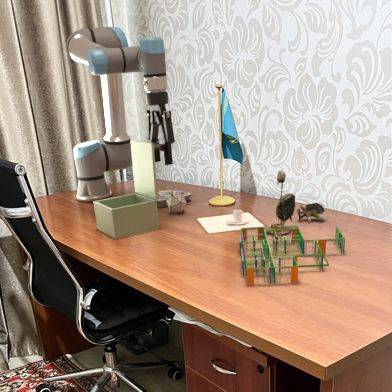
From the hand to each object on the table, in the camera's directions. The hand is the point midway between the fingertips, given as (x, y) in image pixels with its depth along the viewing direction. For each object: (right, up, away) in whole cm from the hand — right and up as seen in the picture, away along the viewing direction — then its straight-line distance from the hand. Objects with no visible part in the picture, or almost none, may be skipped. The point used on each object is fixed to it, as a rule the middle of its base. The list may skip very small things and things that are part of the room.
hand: (162, 163), depth 182 cm
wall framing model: (+39, -40, -35) cm, 66 cm away
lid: (-7, -3, -3) cm, 8 cm away
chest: (-13, -23, +3) cm, 26 cm away
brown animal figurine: (+52, -21, -3) cm, 56 cm away
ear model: (+24, -21, +2) cm, 32 cm away
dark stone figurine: (+40, -27, -11) cm, 49 cm away
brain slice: (-1, -5, +34) cm, 34 cm away
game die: (+5, -13, +18) cm, 23 cm away
